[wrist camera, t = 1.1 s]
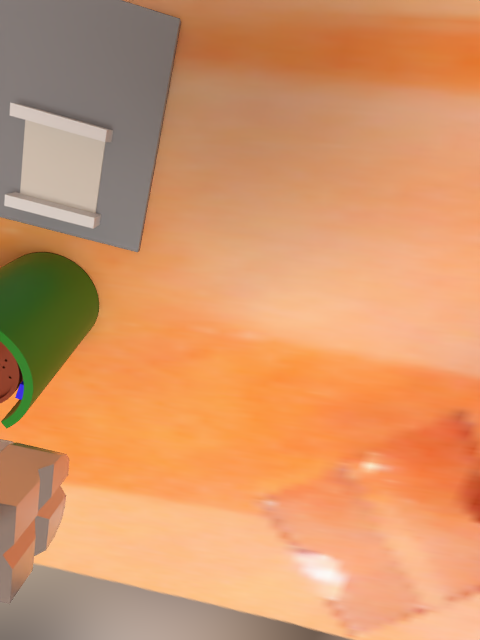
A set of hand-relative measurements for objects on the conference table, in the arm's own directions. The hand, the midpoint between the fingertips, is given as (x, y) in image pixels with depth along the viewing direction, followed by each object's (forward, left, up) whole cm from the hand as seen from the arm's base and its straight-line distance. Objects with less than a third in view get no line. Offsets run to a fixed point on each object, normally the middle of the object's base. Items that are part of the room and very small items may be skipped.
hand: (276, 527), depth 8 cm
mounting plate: (-4, -17, -37) cm, 41 cm away
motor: (+13, -17, -37) cm, 43 cm away
